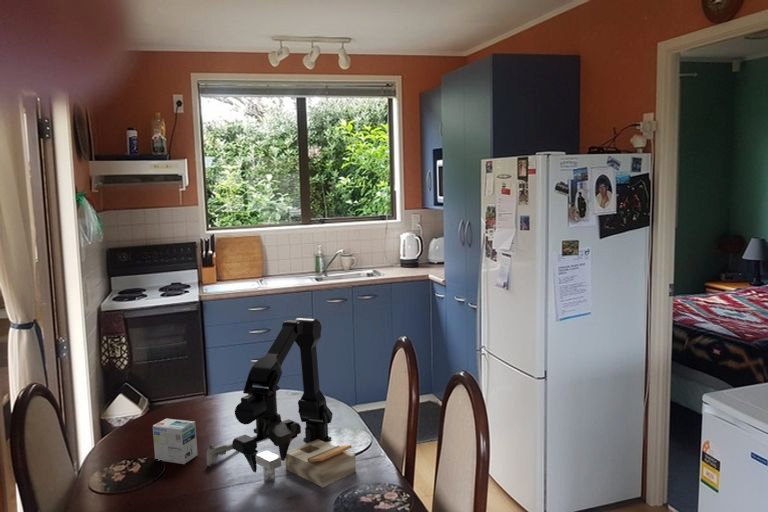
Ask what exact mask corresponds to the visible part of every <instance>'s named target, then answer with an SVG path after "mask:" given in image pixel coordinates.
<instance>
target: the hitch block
mask: <svg viewBox="0 0 768 512" xmlns="http://www.w3.org/2000/svg"><path fill="white" fill-rule="evenodd" d="M334 447H336V446H335V445H334V444H331V443H328V442H327V441H326V442H324V441H321V440H319V439H317V440H315V441H312V442H310V443H309V442H306V443H305V444H303V445H301V446H297V447H294V448H293V449H290V450H288V451H287V454H286V457H285V470H287V471H288V472H291V473H292V474H294V475H297V476H299V477H300V478H303V479H305V480H307V481H309V482H311V483H313V484H315V485H317V486H319V487H321V488H324V487H326V486H328V485H331V484H333V483H336V482H337V481H340V480H342V479H344V478H345V477H348V476H349V475H352V474H354V473H356V469H357V468H356V467H357V466H356V465H357V464H356V454H355V453H352V452H350V451H348V450H345V451H343V452H341V453H338V454H336V455H334V456H331V457H329V458H327V459H325V460H322V461H314V462H308V460H307V459H308V458H310V457H312V456H315V455H317V454H319V453H322V452H324V451H327V450H329V449H331V448H334Z"/></svg>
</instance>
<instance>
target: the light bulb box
mask: <svg viewBox="0 0 768 512" xmlns="http://www.w3.org/2000/svg"><path fill="white" fill-rule="evenodd" d="M152 434H153V435H152V437H153V447H154V449H153V450H154V460H155V459H158V460H157V461H160V460H162V461H161V462H168V463H174V464H180V465H186V463H189V462H190V461H191V460H193V459H194V458H195V457H197V456H198V455H199V454H198V443H197V442H198V441H197V429H196V421H195V420H193V421H192V420H183V419H174V418H165V419H163V420H160V421H158V422H157V423H155V424H153V425H152Z"/></svg>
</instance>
